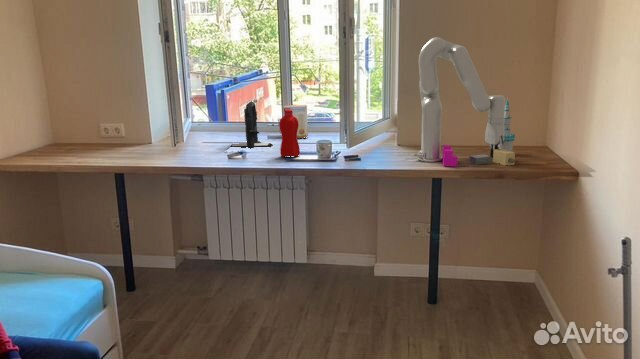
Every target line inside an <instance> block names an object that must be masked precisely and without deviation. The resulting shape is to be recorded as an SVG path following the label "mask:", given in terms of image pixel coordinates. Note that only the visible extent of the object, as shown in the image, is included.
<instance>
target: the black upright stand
mask: <svg viewBox="0 0 640 359" xmlns="http://www.w3.org/2000/svg"><path fill="white" fill-rule="evenodd" d="M257 102H258V99H257V98H253V100H251V101H249V102H247V104H246V106H245V108H244V112H243V114H244V124H245V141H247V143H239V144H233V143H232V144H230V145H229V147H241V148H246V147H248V148H250V149H251V148H254V147H270V148H271V147H273V146H274V144H271V143H261V142H260V141H261V140H259V139H258V138H259V136H258V134H260V131H258V124H257V122H258V111H257V107H256V103H257ZM272 145H273V146H272ZM270 148H269V150H270V151H271V149H272V148H271V149H270ZM262 150H263V149H262ZM267 150H268V149H267ZM269 150H268V151H269ZM263 151H264V150H263ZM265 151H266V150H265ZM270 151H269V152H270Z"/></svg>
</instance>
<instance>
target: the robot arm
mask: <svg viewBox="0 0 640 359" xmlns="http://www.w3.org/2000/svg"><path fill="white" fill-rule="evenodd" d="M438 57H439V58H441V59H444V60H446V61H449V62H452V64H453V67H454V69H455V71H456V74H457V76H458V78H459V80H460V82H461V83H462V85H463V86H464V88H465V90H466V91H467V93H468V94H469V97H470V99H471V104H472V107H473V108H474V109H475V110H476V111H477V112H480V113H485V112H487V111H488V112H487V113H488V114H487V115H488V116H487V124H486V127H485V132H484V142H485V143H487V144H488V145H489V150H490V153H489V154H490V155H489V156H491V157H492V159H493V150H494V149H499V147H502V144H503V143H504V113H505V106H506V105H505V104H506V97H505V96H504V95H501V94H500V95H499V94H497V95H496V94H493V95H488V93H487V91H486V89H485V86H484V84H483V83H482V80H481V77H480V76H479V74H478V71H477V68H476V66H475V64H474V63H473V61H472V57H471V56H470V53H469V51H468V49H467V48H466V47H465V46H463V45H459V44H457V43H453V42H450V41H448V40H445V39H443V38H441V37H438V36H437V37H436V36H434V37H432V38H430V39H429V41H427V42H426V44H424V45H423V47H422V48H421V50H420V53H419V55H418V72H419V82H418V86H419V94H420V102H421V144H420V145H421V147H420V148H421V149H420V150H419V151H418V152H412V154H411V155H412V157H413V158H415V157H417V159H418V160H419V161H422V162H426V163H430V162H431V163H436V162H443V161H442V156H443V155H441V142H442V141H441V139H442V138H441V137H442V115H443V104H442V101H441V98H440V90H439V89H440V88H439V87H440V86H439V85H440V82H439V81H440V80H439V76H438V70H437V69H438V68H437V66H438V65H437V60H438Z"/></svg>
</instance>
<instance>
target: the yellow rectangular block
mask: <svg viewBox="0 0 640 359" xmlns="http://www.w3.org/2000/svg"><path fill="white" fill-rule="evenodd" d="M515 158H516V152H515V151H513V152H512V151H508V150H505V149H494V150H493V158H492V162H493V163H497V164H499V163H500V164H499V165H501V166H502V165H503V166H505V165H508V166H515Z"/></svg>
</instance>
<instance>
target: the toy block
mask: <svg viewBox="0 0 640 359" xmlns="http://www.w3.org/2000/svg"><path fill="white" fill-rule="evenodd" d="M441 156H442V161H441V162H442V165H443V167H456V168H458V161H459V160H458V157H459V156H458V155H455V154H454V151H453V149H452V145H448V144H447V145H445V144H444V145H443V146H442V155H441Z"/></svg>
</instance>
